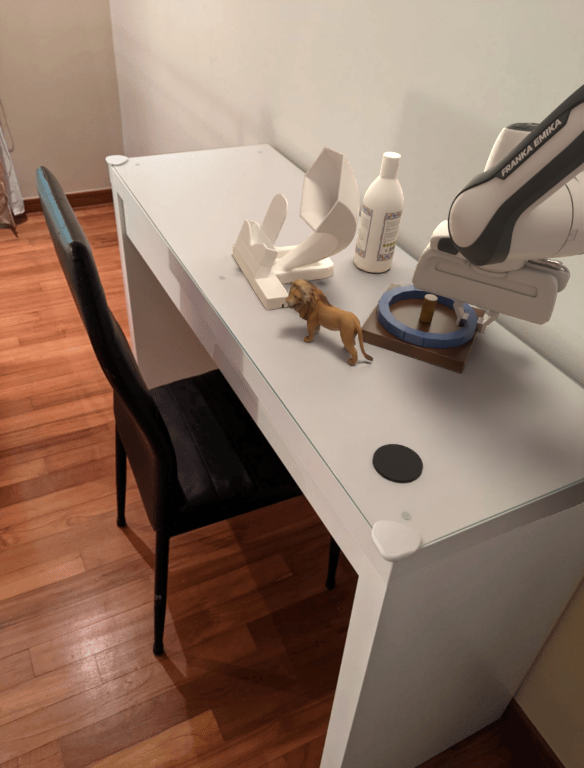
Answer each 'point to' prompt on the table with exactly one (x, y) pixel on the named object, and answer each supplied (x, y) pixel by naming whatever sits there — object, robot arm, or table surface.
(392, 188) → the bath foam
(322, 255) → the jewelry stand
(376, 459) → the mat
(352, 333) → the lion figurine
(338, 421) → the table surface
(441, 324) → the platform
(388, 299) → the ring
